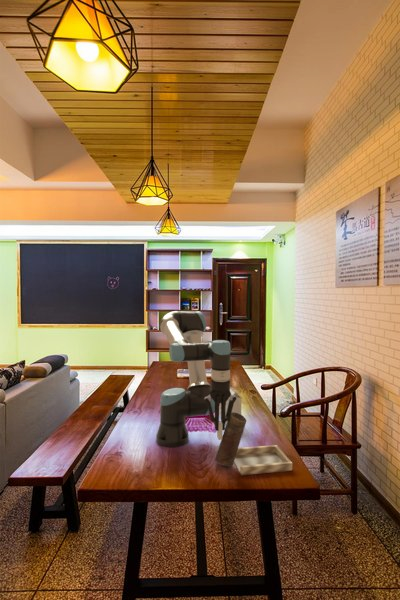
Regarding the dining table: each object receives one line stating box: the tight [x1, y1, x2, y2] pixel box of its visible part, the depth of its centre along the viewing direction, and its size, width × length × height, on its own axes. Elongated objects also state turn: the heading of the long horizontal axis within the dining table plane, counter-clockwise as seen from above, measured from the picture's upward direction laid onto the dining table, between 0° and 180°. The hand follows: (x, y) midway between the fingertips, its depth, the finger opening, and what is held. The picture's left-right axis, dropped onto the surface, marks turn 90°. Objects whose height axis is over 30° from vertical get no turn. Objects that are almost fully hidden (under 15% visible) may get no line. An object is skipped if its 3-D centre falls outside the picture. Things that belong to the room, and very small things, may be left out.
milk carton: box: [225, 386, 242, 425], centre depth 171 cm, size 7×7×19 cm
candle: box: [214, 412, 247, 468], centre depth 130 cm, size 8×7×20 cm
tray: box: [233, 444, 293, 476], centre depth 133 cm, size 21×15×3 cm
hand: (219, 438), depth 130 cm, fingers closed
